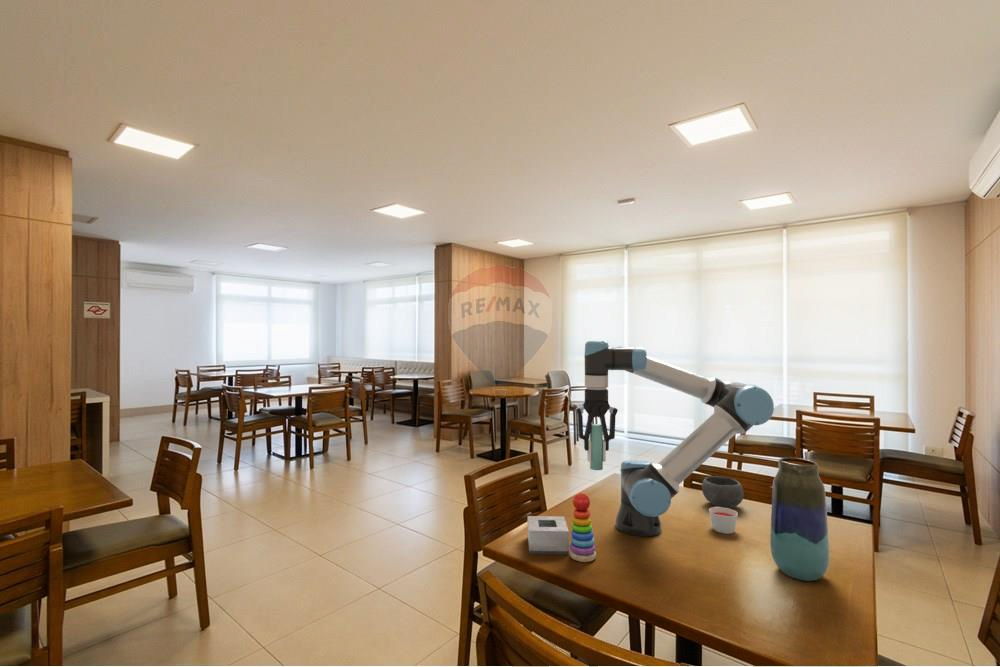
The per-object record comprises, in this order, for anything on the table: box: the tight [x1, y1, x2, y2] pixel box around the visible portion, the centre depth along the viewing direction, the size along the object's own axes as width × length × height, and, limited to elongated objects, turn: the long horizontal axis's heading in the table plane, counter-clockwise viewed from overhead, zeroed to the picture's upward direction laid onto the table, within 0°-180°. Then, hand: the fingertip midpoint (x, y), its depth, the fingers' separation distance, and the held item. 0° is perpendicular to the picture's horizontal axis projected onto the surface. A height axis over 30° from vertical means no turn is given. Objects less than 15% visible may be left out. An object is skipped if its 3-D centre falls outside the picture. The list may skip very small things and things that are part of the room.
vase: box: [770, 457, 831, 582], centre depth 128 cm, size 14×14×31 cm
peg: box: [589, 423, 604, 471], centre depth 148 cm, size 4×4×14 cm
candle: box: [708, 506, 739, 535], centre depth 158 cm, size 9×9×6 cm
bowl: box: [701, 475, 745, 509], centre depth 181 cm, size 15×15×10 cm
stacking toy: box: [569, 492, 597, 563], centre depth 137 cm, size 8×8×19 cm
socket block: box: [527, 515, 570, 556], centre depth 145 cm, size 12×12×7 cm
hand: (596, 460), depth 148 cm, fingers closed on peg, 4 cm apart
